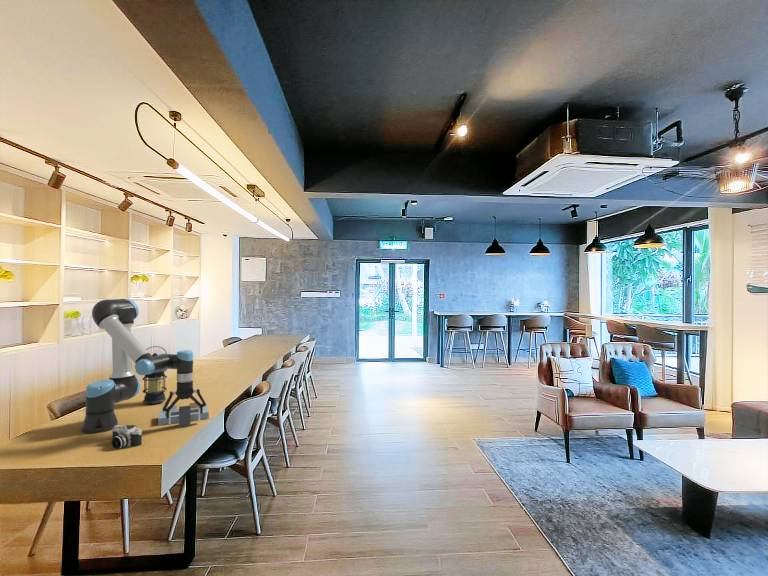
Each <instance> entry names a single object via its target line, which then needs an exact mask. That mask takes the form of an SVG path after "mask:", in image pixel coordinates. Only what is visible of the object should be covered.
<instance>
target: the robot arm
mask: <svg viewBox="0 0 768 576" xmlns="http://www.w3.org/2000/svg"><path fill="white" fill-rule="evenodd" d="M139 314H140V310H139V306H138V304H137V303H136V302H135V301H134V300H133V299H132V300H131V299H129V298H128V299H127V298H117V299H115V298H114V299H107V298H105V299H103V300H100V301H98V302H96V303H95V304H94V306H93V308H92V311H91V318H92V320H93V321H94V323H95V324H96V326H97V327H98V328H99V329H100V330H104V331H105V332H106V333H107V334H108V335H109V336H110V337H111V354H112V356H111V357H112V358H111V359H112V361H111V362H112V373H111V374H110V376H109V375H108V376H109V378H108V379H101V380H96V381H94V382H91V383H89V384H88V385H87V386H86V388H85V393H84V395H85V417H84V420H83V422H82V425H81V427H80V432H81V433H82V434H87V435H93V434H100V433H102V434H103V433H106V432H110V431H112V429H113V428H114V426H116V425H119V422H118V419H117V415H116V413H115V404H119V403H121V402H124V401H128V400H131V399H132V398H134V397H136V396H137V395H138V394H139V393H140V391H141V385H142V384H141V381H140V380H139V377H137V376H136V374H138V375H139V376H145V375H147V374H151V373H154V372H158V371H162V370H166V369H167V370H176V381H177V382H176V390H175V391H172V390H171V391H169V395H168V398H166V400H165V404H163V407H162V409H161V411H166V418H169V424H168V426H171V425H172V424H171V411H170V410H171V408H172V407H173V406H174V405H177V403H178V402H179V400H189V399H191V400H192V401H193V402H195V403H196V404H197V405H198V420H197V421H198V422H200V421H201V420H200V414H202V413H203V407H204V406H207V403H206V401H205V399H204V397H203V396H202V394H201V392H200V391H201V390H200V388H196V389H194V381H193V380H194V353H193V351H192V350H189V349H188V350H187V349H186V350H178V351H177V352H176V354H174V353H172V354H171V353H167V354H166V353H158V354H157V356H156V357H153V356H152V355H153V354H152V353H150V352H149V351H148V350H146V349H147V348H145V346H143V344H141V342H140V341H139V340H138V339H137V338H136V337H135V336H134V335H133V334H132V329H131V327H132V326H133V325H134V324H135V320H136V319H137V318H138V316H139ZM132 362H134V369H135V372H134V371H133V369H132ZM167 370H166V371H167ZM194 393H195V394H196V395H197V396H198V398H199V399H200V401H201V402H200V401H199V400H198V399H197V398H196V397H195V396H193V394H194ZM175 395H176V397H175V399H174V400H173V401H172V402H171V400H172V398H173V397H174V396H175ZM170 403H171V404H170ZM168 405H170V406H169V407H168V408H167V406H168Z"/></svg>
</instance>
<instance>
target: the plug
mask: <svg viewBox="0 0 768 576" xmlns="http://www.w3.org/2000/svg"><path fill="white" fill-rule="evenodd" d="M178 409H179V423H178V427H179V428H187V427H191V421H190V404H189V405H181V406H180V405H179V407H178Z"/></svg>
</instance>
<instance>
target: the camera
mask: <svg viewBox="0 0 768 576" xmlns="http://www.w3.org/2000/svg"><path fill="white" fill-rule="evenodd" d="M111 433H112V438H111V439H112V440H111V445H112V447H113V448H114V449H118V450H119V449H122V448H125V447H129V448H130V447H140V446H141V445H142V442H143V441H142V439H143V438H142V434H143V432H142V429H140V428H138V427H137V424H136V425H135V424H129V425H128V424H125V425H120V424H118V425H116V426H114V428H113V429H112V430H111Z"/></svg>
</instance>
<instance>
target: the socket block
mask: <svg viewBox="0 0 768 576" xmlns="http://www.w3.org/2000/svg"><path fill="white" fill-rule="evenodd" d="M170 405H171V404H168V406H167V408H168V407H169V406H170ZM189 405H190V422H193V421H198V407H199V406H198V405H197V404H196V403H195V402H194V401H193V402H189ZM207 406H208V405H206V406H204V407H203V413H202V414H200V421H201V420H208V419H210V416H209V415H210V412H209V410H208V407H207ZM177 407H178V406H177V404H175V405H174V406H173V407H172V408H171V410H170V411H171V425H172V424H173V425H174V424H179V408H177ZM157 418H158V419H157V426H164V425H165V426H166V425H169V418H166V411H162V410H159V411H158V415H157Z"/></svg>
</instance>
